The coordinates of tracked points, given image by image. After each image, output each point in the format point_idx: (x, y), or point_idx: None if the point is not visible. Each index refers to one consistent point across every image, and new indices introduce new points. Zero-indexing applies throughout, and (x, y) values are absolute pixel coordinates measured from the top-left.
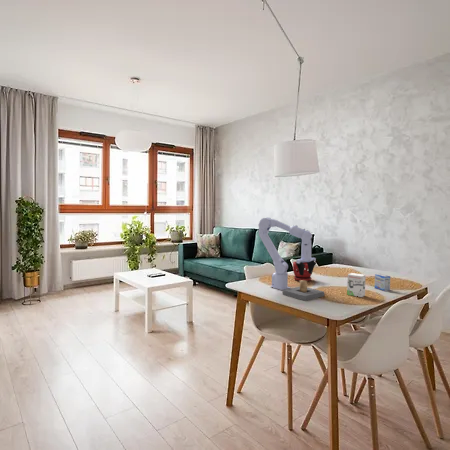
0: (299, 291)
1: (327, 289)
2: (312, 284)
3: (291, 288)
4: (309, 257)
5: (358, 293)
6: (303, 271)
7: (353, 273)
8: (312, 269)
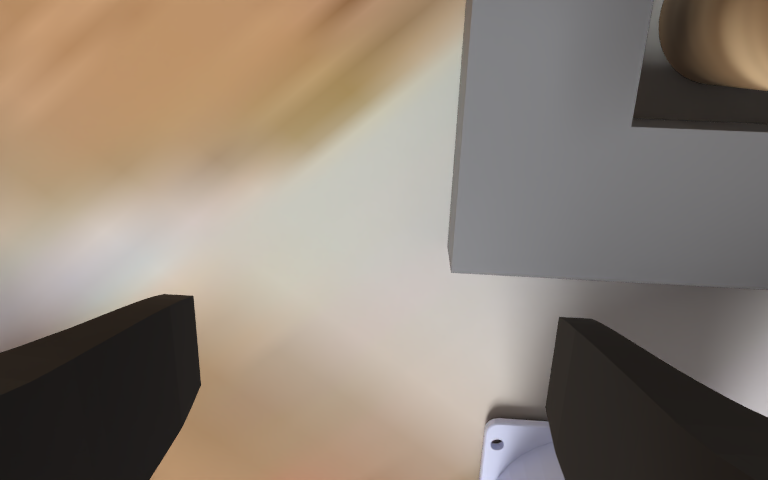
0: (715, 125)
1: (40, 18)
2: None
3: (759, 277)
4: None
5: None
6: (630, 364)
7: None
8: (90, 340)
